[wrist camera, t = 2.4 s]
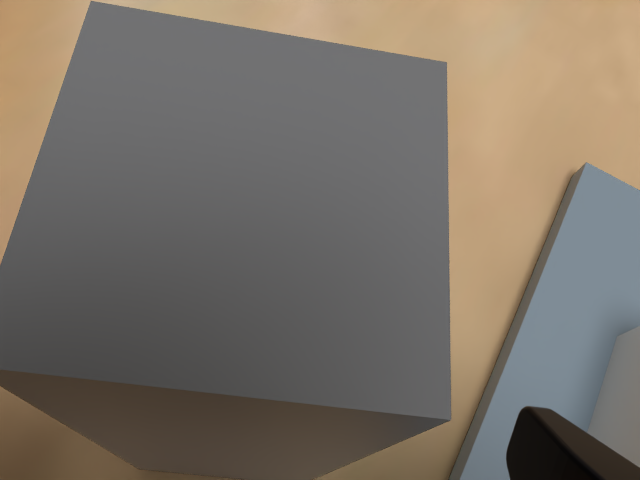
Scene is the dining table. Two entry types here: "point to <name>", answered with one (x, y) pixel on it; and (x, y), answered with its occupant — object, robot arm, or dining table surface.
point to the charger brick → (234, 250)
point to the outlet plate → (571, 331)
